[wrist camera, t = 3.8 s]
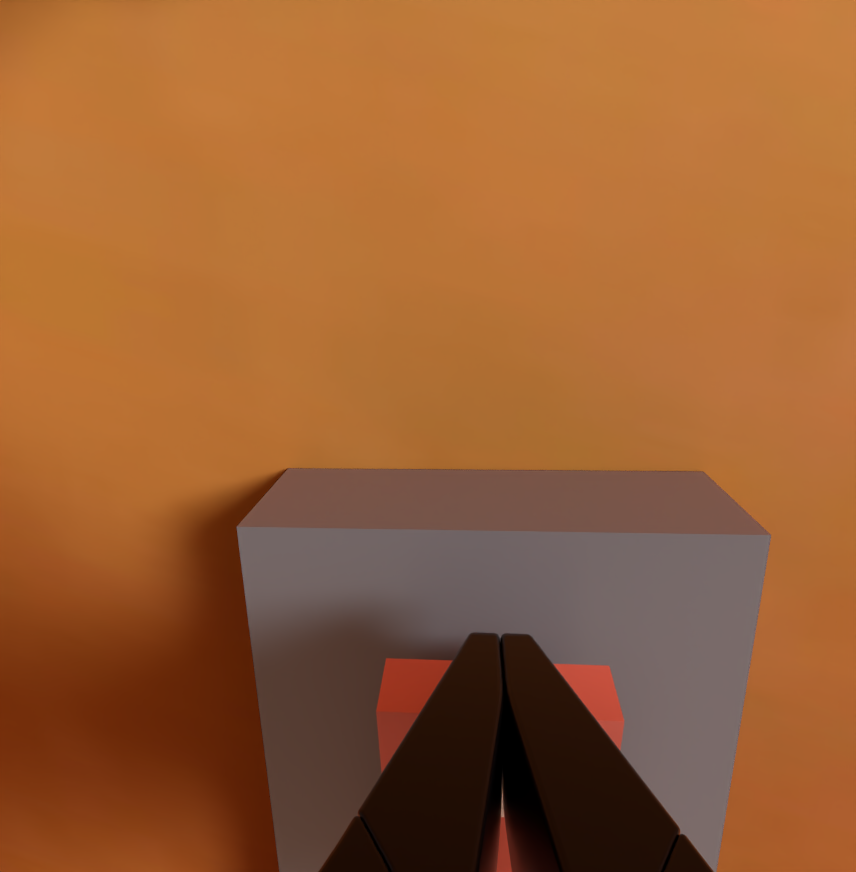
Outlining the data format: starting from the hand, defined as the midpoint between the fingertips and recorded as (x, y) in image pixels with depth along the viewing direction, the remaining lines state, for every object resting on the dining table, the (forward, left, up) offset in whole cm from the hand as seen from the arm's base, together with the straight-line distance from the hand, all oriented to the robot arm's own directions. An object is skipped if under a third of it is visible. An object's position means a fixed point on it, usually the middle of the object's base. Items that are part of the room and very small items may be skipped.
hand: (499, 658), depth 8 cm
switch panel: (-11, 0, -5) cm, 13 cm away
